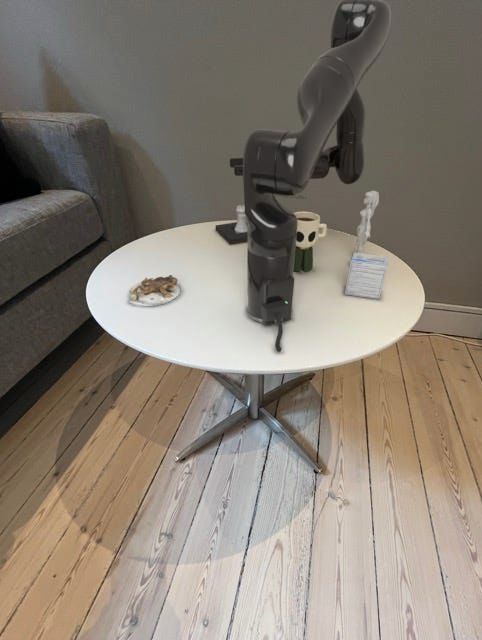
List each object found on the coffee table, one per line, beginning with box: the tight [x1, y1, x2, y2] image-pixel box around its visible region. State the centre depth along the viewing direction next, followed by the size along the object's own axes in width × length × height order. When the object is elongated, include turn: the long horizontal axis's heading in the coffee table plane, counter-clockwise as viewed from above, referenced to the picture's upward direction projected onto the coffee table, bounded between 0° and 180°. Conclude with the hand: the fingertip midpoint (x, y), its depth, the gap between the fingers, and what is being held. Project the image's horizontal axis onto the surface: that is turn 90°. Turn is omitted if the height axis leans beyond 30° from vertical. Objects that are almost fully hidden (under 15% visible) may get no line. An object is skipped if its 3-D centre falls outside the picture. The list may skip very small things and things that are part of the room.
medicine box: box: [344, 251, 389, 300], centre depth 87 cm, size 8×4×9 cm, turn 74°
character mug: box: [292, 211, 328, 273], centre depth 95 cm, size 11×7×13 cm, turn 94°
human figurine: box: [349, 190, 380, 264], centre depth 96 cm, size 12×4×18 cm, turn 173°
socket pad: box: [215, 221, 247, 245], centre depth 115 cm, size 12×12×2 cm
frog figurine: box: [128, 274, 182, 307], centre depth 87 cm, size 12×12×4 cm
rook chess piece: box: [235, 204, 248, 233], centre depth 113 cm, size 4×4×8 cm
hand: (232, 166), depth 103 cm, fingers open, 8 cm apart
